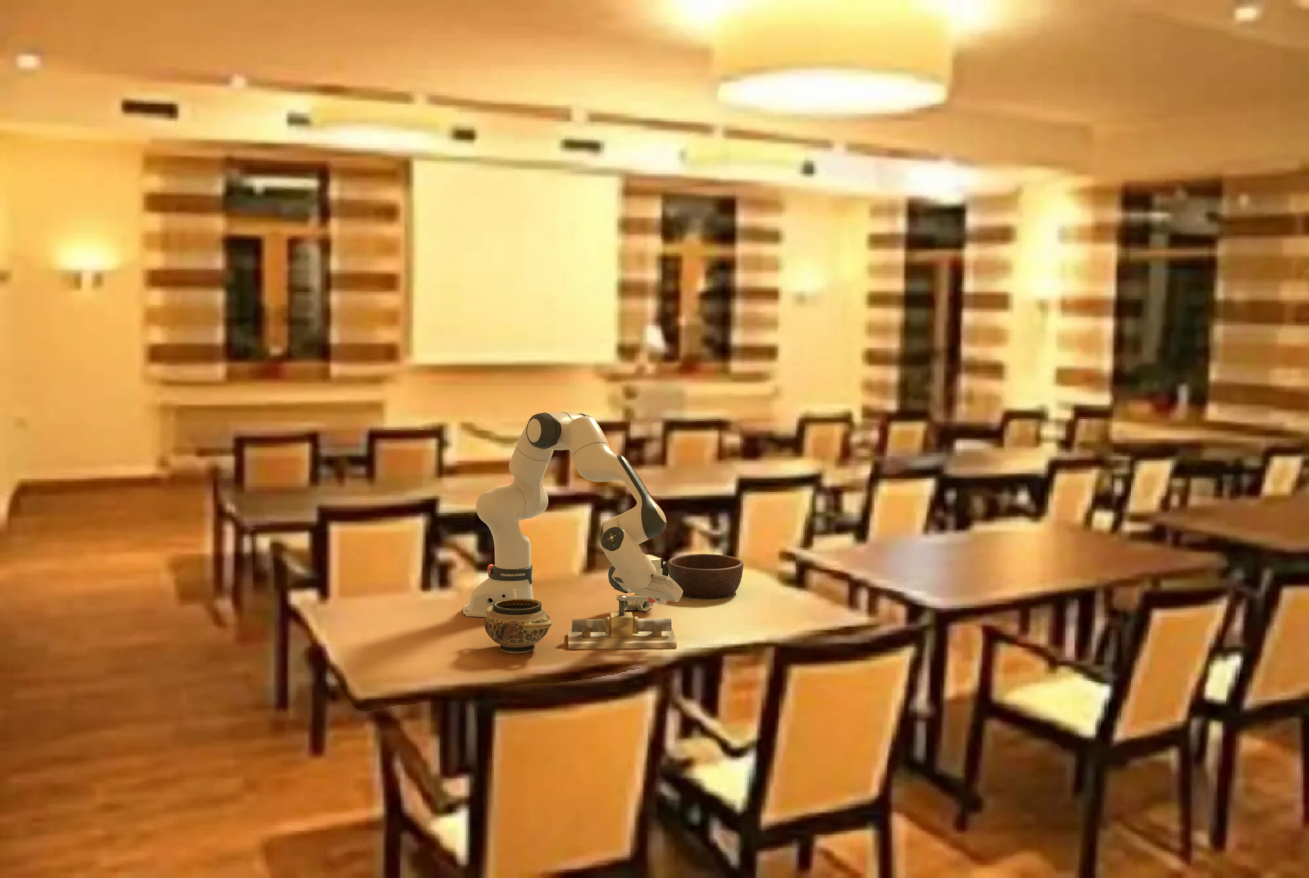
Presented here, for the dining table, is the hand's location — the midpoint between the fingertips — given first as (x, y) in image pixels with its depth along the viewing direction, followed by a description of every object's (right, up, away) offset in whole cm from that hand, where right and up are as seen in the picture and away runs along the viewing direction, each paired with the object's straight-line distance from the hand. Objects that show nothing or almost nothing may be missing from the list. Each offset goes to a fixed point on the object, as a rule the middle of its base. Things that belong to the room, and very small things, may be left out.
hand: (662, 601), depth 353 cm
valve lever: (-5, 0, +3) cm, 6 cm away
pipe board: (-12, -12, +4) cm, 17 cm away
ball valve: (-7, -8, +39) cm, 40 cm away
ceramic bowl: (-40, -13, -5) cm, 42 cm away
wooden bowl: (+14, -5, +63) cm, 65 cm away
